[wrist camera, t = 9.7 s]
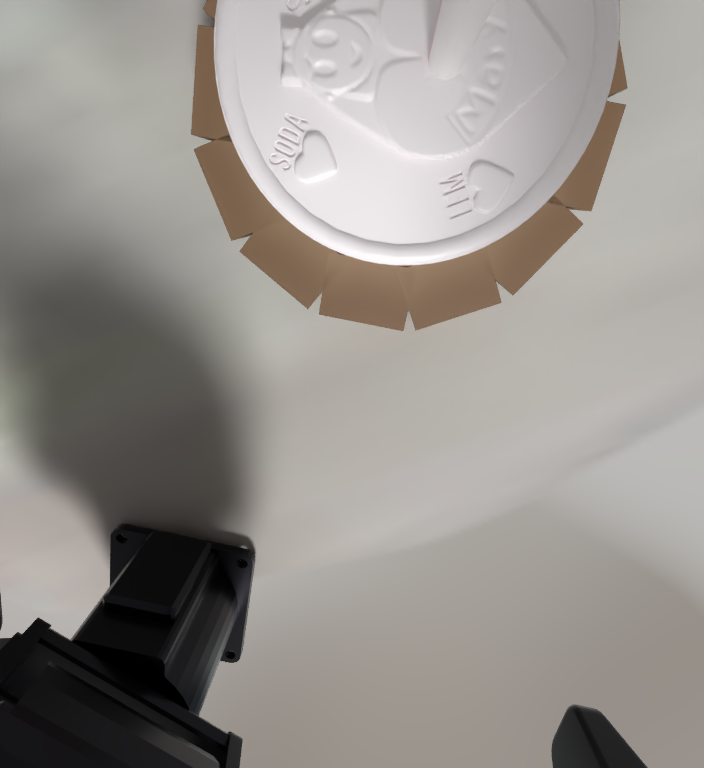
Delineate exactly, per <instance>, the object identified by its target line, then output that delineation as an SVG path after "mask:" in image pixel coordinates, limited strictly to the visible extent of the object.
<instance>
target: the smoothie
mask: <svg viewBox="0 0 704 768" xmlns="http://www.w3.org/2000/svg"><path fill="white" fill-rule="evenodd" d="M619 30H620V4H619V0H218V1H217V8H216V15H215V28H214V63H215V74H216V82H217V88H218V94H219V100H220V104H221V108H222V111H223V115H224V119H225V122H226V125H227V128H228V131H229V134H230V136H231V139H232V142H233V144H234V146H235V148H236V151H237V153H238V155H239V157H240V159H241V161H242V163H243V164H244V166H245V168H246V170H247V172H248V173H249V175H250V177H251V178H252V180H253V181H254V182H255V184H256V185H257V187H258V188H259V190H260V191H261V192H262V194H263V195H264V196H265V197H266V198H267V200H268V201H269V202H270V203H271V204H272V206H273V207H274V208H275V209H276V210H277V211H278V212H279V213H280V214H281V215H282V216H283V217H284V218H285V219H287V220H288V221H289V222H290V223H291V224H293V225H294V226H295V227H296V228H297V229H299V230H300V231H301V232H303V233H304V234H306V235H307V236H309V237H310V238H312V239H313V240H315V241H317V242H319V243H320V244H322V245H324V246H326V247H328V248H330V249H332V250H334V251H337V252H339V253H342V254H344V255H347V256H350V257H353V258H356V259H360V260H363V261H368V262H373V263H378V264H387V265H422V264H432V263H437V262H442V261H447V260H451V259H454V258H457V257H460V256H464V255H467V254H469V253H472V252H474V251H477V250H479V249H481V248H484V247H486V246H487V245H489V244H491V243H493V242H495V241H497V240H499V239H501V238H502V237H504V236H505V235H507V234H508V233H510V232H511V231H513V230H515V229H516V228H517V227H519V226H520V225H521V224H522V223H524V222H525V221H526V220H528V219H529V218H530V217H531V216H532V215H534V214H535V213H536V212H537V211H538V210H539V209H540V208H541V207H542V206H543V205H544V204H545V203H546V202H547V201H548V200H549V199H550V198H551V197H552V196H553V194H554V193H555V192H556V191H557V190H558V189H559V188H560V187H561V185H562V184H563V183H564V181H565V180H566V179H567V177H568V176H569V175H570V173H571V172H572V171H573V169H574V168H575V166H576V164H577V163H578V161H579V160H580V158H581V156H582V155H583V153H584V152H585V150H586V148H587V146H588V144H589V142H590V140H591V138H592V136H593V134H594V132H595V130H596V128H597V125H598V123H599V120H600V118H601V115H602V113H603V111H604V107H605V104H606V101H607V98H608V95H609V92H610V88H611V84H612V80H613V75H614V71H615V66H616V59H617V52H618V45H619Z"/></svg>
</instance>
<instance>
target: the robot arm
mask: <svg viewBox="0 0 704 768" xmlns="http://www.w3.org/2000/svg"><path fill="white" fill-rule="evenodd" d="M121 534H123V535H125V536H126V537H127V538H125V537H123V536H122V535H121ZM239 559H243V560H245V561H246V562H242V561H240V560H239ZM254 565H255V556H254V554H253V553H252V552H251V551H250V550H247V549H243V548H238V547H234V546H229V545H224V544H219V543H214V542H210V541H205V540H200V539H195V538H190V537H185V536H181V535H176V534H171V533H166V532H161V531H157V530H152V529H147V528H142V527H137V526H132V525H128V524H121V525H119V526H118V527H117V528H116V529H115V530H114V531H113V532H112V534H111V553H110V587H109V589H108V590H107V591H106V593H105V594H104V595H103V597H102V598H101V599H100V601H99V602H98V604H97V605H96V606H95V608H94V609H93V610H92V612H91V613H90V614H89V616H88V617H87V618H86V620H85V621H84V622H83V624H82V625H81V626H80V628H79V629H78V631H77V632H76V633H75V634H74V636H73V637H72V638H71V640H69V639H68V638H66V637H64V636H63V635H61V634H59V633H58V632H56V631H54V630H52V629H51V628H50V627H51V625H50V624H48V623H46V622H45V621H43V620H42V619H40V618H37V619H36V620H35V621H34V622H33V623H32V625H31V626H30V627H29V628H28V629H27V630H26V631H25V632H24V633H23V634H20V633H19V632H17V633H16V634H15V635H14V636H13V637H12V638H2V639H0V768H239V766H240V757H241V747H242V738H240V737H239V736H237V735H235V734H234V733H232V732H228V733H226V732H225V731H223V730H221V729H220V728H218V727H216V726H214V725H213V724H211V723H209V722H208V721H206V720H204V719H203V718H201V717H199V713H200V711H201V708H202V706H203V703H204V700H205V698H206V695H207V693H208V690H209V688H210V685H211V682H212V680H213V677H214V675H215V672H216V670H217V666H218V664H219V662H220V661H225V662H229V663H234V662H237V661H238V660H239V659H240V656H241V654H242V651H243V644H244V637H245V630H246V623H247V615H248V608H249V601H250V594H251V586H252V580H253V572H254ZM1 626H2V608H1V595H0V630H1ZM231 651H232V652H231ZM552 762H553V768H647V766H646V765H645V764H644V763H643V762H642V760H641V759H640V758H639V757H638V756H637V754H636V753H635V752H634V751H633V750H632V748H631V747H630V746H629V745H628V744H627V743H626V741H625V740H624V739H623V738H622V737H621V735H620V734H619V733H618V732H617V730H616V729H615V728H614V727H613V726H612V724H611V723H610V722H609V721H608V720H607V719H606V717H605V716H604V715H603V714H602V713H601V712H600V711H598V710H597V709H594V708H589V707H584V706H580V705H571V706H569V707H568V709H567V711H566V712H565V715H564V717H563V719H562V721H561V723H560V725H559V728H558V730H557V732H556V734H555V736H554V739H553V743H552Z"/></svg>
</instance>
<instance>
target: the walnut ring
mask: <svg viewBox="0 0 704 768" xmlns="http://www.w3.org/2000/svg"><path fill="white" fill-rule="evenodd" d="M217 1H218V0H208V1H207V3H206V4H205V6H204V8H203V10H204V11H205V12H206V13H207V14H209V15H210V16H211V17H212V18H213V19H214V20H215V15H216V8H217ZM625 89H627V82H626V77H625V71H624V65H623V59H622V53H621V47H620V41H619V45H618V52H617V59H616V66H615V71H614V75H613V80H612V84H611V88H610V92H609V95H608V97H610V96H612V95H614V94H616V93H618V92H621V91H623V90H625ZM625 107H626V105H625V104H619V103H614V102H609V101H606V104H605V107H604V111H603V113H602V115H601V118H600V120H599V123H598V125H597V128H596V130H595V132H594V134H593V136H592V138H591V140H590V142H589V144H588V146H587V148H586V150H585V152H584V153H583V155H582V156H581V158H580V160H579V161H578V163H577V164H576V166H575V168H574V169H573V171H572V172H571V173H570V175H569V176H568V177H567V179H566V180H565V181H564V183H563V184H562V185H561V187H560V188H559V189H558V190H557V191H556V192H555V193H554V194H553V196H552V197H551V198H550V199H549V200H548V201H547V202H546V203H545V204H544V205H543V206H542V207H541V208H540V209H539V210H538V211H537V212H536V213H535V214H534V215H532V216H531V217H530V218H529V219H528V220H526V221H525V222H524V223H522V224H521V225H520V226H519V227H517V228H516V229H515V230H513V231H511V232H510V233H508V234H507V235H505V236H504V237H502V238H501V239H499V240H497V241H495V242H493V243H491V244H489V245H487V246H486V247H484V248H481V249H479V250H477V251H474V252H472V253H469V254H467V255H464V256H460V257H457V258H454V259H451V260H447V261H442V262H437V263H432V264H422V265H387V264H378V263H373V262H368V261H363V260H360V259H356V258H353V257H350V256H347V255H344V254H342V253H339V252H337V251H334V250H332V249H330V248H328V247H326V246H324V245H322V244H320V243H319V242H317V241H315V240H313V239H312V238H310V237H309V236H307V235H306V234H304V233H303V232H301V231H300V230H299V229H297V228H296V227H295V226H294V225H293V224H291V223H290V222H289V221H288V220H287V219H285V218H284V217H283V216H282V215H281V214H280V213H279V212H278V211H277V210H276V209H275V208H274V207H273V206H272V204H271V203H270V202H269V201H268V200H267V198H266V197H265V196H264V195H263V194H262V192H261V191H260V190H259V188H258V187H257V185H256V184H255V182H254V181H253V180H252V178H251V177H250V175H249V173H248V172H247V170H246V168H245V166H244V164H243V163H242V161H241V159H240V157H239V155H238V153H237V151H236V148H235V146H234V144H233V142H232V139H231V136H230V134H229V131H228V128H227V125H226V122H225V119H224V115H223V111H222V108H221V104H220V100H219V94H218V88H217V82H216V74H215V63H214V28H213V27H208V26H203V25H198V33H197V49H196V65H195V81H194V97H193V113H192V129H191V135H195V136H198V137H201V138H205V139H208V140H211V141H212V142H209V143H207V144H205V145H202V146H200V147H198V148H195V149H194V151H195V154H196V156H197V158H198V161H199V163H200V166H201V168H202V171H203V173H204V175H205V178H206V180H207V183H208V185H209V187H210V190H211V192H212V195H213V197H214V199H215V202H216V204H217V207H218V209H219V211H220V214H221V216H222V219H223V221H224V224H225V226H226V228H227V231H228V233H229V236H230V238H231V240H236V239H240V238H243V237H247V236H250V238H249V239H248V240H247V242H246V243H245V244H244V246H243V247H242V249H241V250H240V252H241V253H242V254H243V255H244V256H246V257H247V258H248V259H249V260H250V261H251V262H253V263H254V264H255V265H256V266H257V267H259V268H260V269H261V270H262V271H263V272H265V273H266V274H267V275H268V276H269V277H270V278H272V279H273V280H274V281H275V282H276V283H278V284H279V285H280V286H281V287H282V288H283V289H285V290H286V291H287V292H288V293H289V294H291V295H292V296H293V297H294V298H295V299H297V300H298V301H299V302H300V303H301V304H302V305H304V306H305V307H306V308H307V309H308V308H309V307H310V306H311V305H312V303H313V302H314V301H315V300H316V298H317V297H318V296H319V295H320V294H321V292H322V291H323V292H322V298H321V305H320V311H319V315H325V316H330V317H335V318H340V319H345V320H350V321H355V322H360V323H365V324H370V325H375V326H380V327H385V328H390V329H395V330H400V331H403V330H404V325H405V321H406V316H407V312H408V308H409V311H410V314H411V317H412V321H413V324H414V327H415V330H418V329H421V328H424V327H428V326H431V325H434V324H437V323H440V322H443V321H446V320H449V319H452V318H455V317H459V316H462V315H465V314H468V313H471V312H474V311H477V310H480V309H483V308H486V307H490V306H493V305H496V304H499V303H501V299H500V295H499V292H498V288H497V284H496V281H497V282H498V283H499V284H500V285H501V286H503V287H504V288H505V289H506V290H507V291H508V292H509V293H511V294H512V295H514V294H515V293H516V292H517V291H518V290H519V289H520V288H521V287H522V286H523V285H524V284H525V283H526V282H527V281H528V280H529V279H530V278H531V277H532V276H533V275H534V274H535V273H536V272H537V271H538V270H539V269H540V268H541V267H542V266H543V265H544V264H545V262H546V261H547V260H548V259H549V258H550V257H551V256H552V255H553V254H554V253H555V252H556V251H557V250H558V249H559V248H560V247H561V246H562V245H563V244H564V243H565V242H566V241H567V240H568V239H569V238H570V237H571V236H572V235H573V234H574V233H575V232H576V231H577V230H578V229H579V228H580V227H581V226H582V225H583V223H582V222H581V221H580V220H579V219H578V218H577V217H576V216H575V215H574V214H573V213H572V212H571V211H570V210H583V211H591V210H592V207H593V204H594V201H595V198H596V195H597V192H598V189H599V186H600V183H601V180H602V177H603V174H604V171H605V168H606V165H607V162H608V159H609V155H610V152H611V149H612V146H613V143H614V140H615V137H616V134H617V131H618V128H619V125H620V122H621V119H622V116H623V113H624V110H625Z"/></svg>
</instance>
